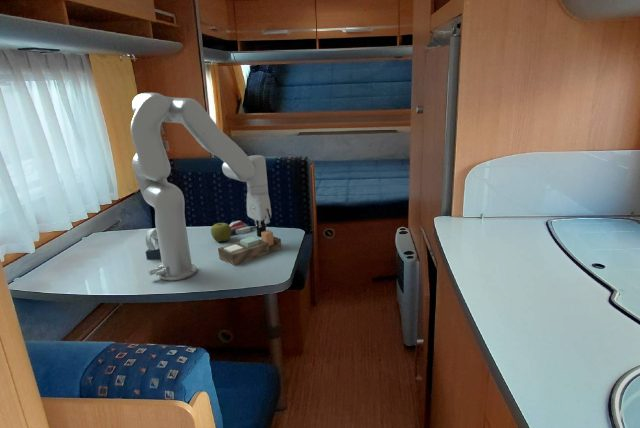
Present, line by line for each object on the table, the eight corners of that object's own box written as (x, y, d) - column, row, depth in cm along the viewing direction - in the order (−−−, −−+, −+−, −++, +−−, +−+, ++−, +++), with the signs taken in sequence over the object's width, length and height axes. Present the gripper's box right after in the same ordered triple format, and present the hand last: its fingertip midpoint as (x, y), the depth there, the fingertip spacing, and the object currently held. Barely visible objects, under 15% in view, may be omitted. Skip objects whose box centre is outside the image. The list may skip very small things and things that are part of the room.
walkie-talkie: (225, 240, 192) (266, 228, 204) (223, 229, 191) (265, 218, 203) (215, 235, 199) (255, 223, 211) (213, 225, 198) (254, 214, 210)
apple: (213, 238, 194) (211, 222, 192) (233, 237, 194) (231, 220, 192) (211, 245, 186) (209, 228, 184) (231, 243, 187) (229, 226, 185)
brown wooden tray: (233, 265, 165) (232, 255, 164) (219, 258, 172) (218, 248, 171) (281, 248, 178) (280, 239, 177) (266, 242, 185) (265, 233, 184)
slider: (267, 246, 175) (265, 234, 174) (262, 244, 177) (261, 232, 176) (273, 244, 177) (272, 231, 176) (269, 242, 179) (268, 230, 178)
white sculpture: (168, 253, 181) (163, 225, 177) (158, 261, 173) (153, 233, 170) (154, 253, 181) (149, 226, 178) (144, 261, 174) (139, 233, 170)
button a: (232, 259, 167) (231, 251, 166) (224, 255, 171) (223, 248, 170) (244, 255, 170) (243, 247, 169) (236, 251, 174) (235, 244, 173)
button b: (248, 250, 171) (247, 243, 170) (240, 247, 175) (240, 240, 174) (259, 247, 174) (258, 239, 173) (252, 243, 178) (251, 236, 177)
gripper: (238, 188, 177) (242, 234, 182) (260, 194, 166) (265, 243, 171) (254, 184, 181) (258, 229, 187) (277, 190, 171) (281, 237, 176)
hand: (261, 235), depth 179 cm, fingers closed
